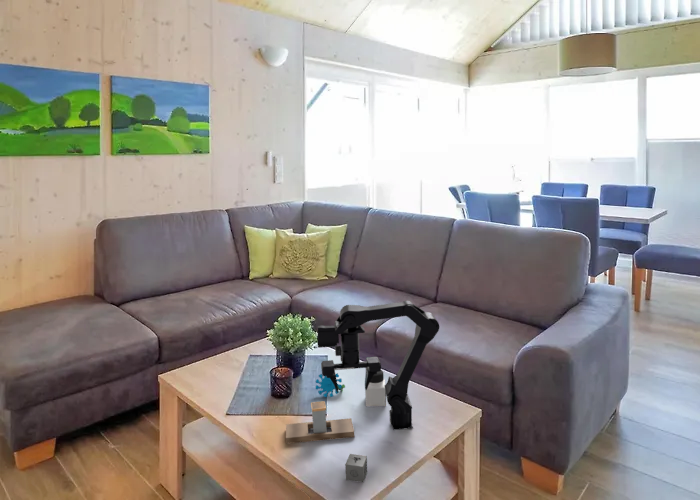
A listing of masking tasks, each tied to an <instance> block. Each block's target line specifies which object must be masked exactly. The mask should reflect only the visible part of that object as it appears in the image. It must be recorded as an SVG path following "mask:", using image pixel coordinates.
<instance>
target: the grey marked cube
mask: <svg viewBox="0 0 700 500" xmlns="http://www.w3.org/2000/svg"><path fill="white" fill-rule="evenodd" d="M344 465H345V481H348V482H357V483H364V482H365V479H366V476H367V474H368V456H367V455H363V454H355V453H349V455H348V458H347V459H346V462H345V463H344Z"/></svg>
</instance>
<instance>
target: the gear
mask: <svg viewBox="0 0 700 500" xmlns="http://www.w3.org/2000/svg"><path fill="white" fill-rule="evenodd" d="M335 374H336V380H337V382H339V383H340V384H338V383H337V385H338V392H337V391H336V389H335V386H334V384H333V382H332V381H331V379H330V378H327V377H326V376H322V373H320V374H318V378H317V379H316V380H315V383H316V385H315V389H316V390H317V391H318V395H319V396H321V395H322V394H323V397H324V398H327V397H328V394H329V393H330V394H329V397H330V398H333V397H334V392H335V395H338V394H339V393H340V392H339V391H341V392H343V391H344V390H343V389H345V388H346V385H345V384H343V381H342V380H343V379H342V378H339V377H340V375H339V373H335ZM319 378H320V379H321V381H320V380H319ZM337 378H339V379H337ZM341 383H342V384H341ZM317 384H319V385H320V386H319V385H317ZM319 389H320V390H319ZM321 389H322V390H321ZM333 391H334V392H333ZM324 392H325V393H324Z"/></svg>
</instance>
